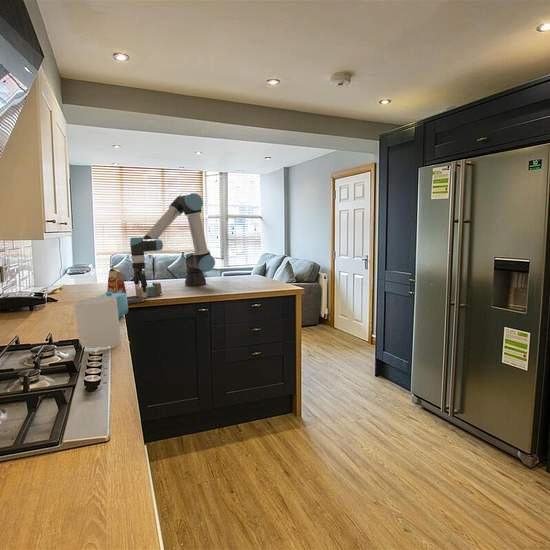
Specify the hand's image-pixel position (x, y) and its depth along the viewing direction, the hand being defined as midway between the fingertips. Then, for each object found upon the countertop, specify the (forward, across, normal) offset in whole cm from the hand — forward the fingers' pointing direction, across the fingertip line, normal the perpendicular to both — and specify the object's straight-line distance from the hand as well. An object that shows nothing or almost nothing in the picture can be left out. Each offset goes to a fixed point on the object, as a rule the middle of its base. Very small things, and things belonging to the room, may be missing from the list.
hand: (141, 295), depth 242 cm
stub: (+1, 0, 0) cm, 1 cm away
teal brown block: (+1, 0, +8) cm, 8 cm away
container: (+2, +85, -41) cm, 94 cm away
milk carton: (+1, -11, -12) cm, 16 cm away
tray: (+1, +10, -8) cm, 13 cm away
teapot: (+1, +44, -27) cm, 52 cm away
